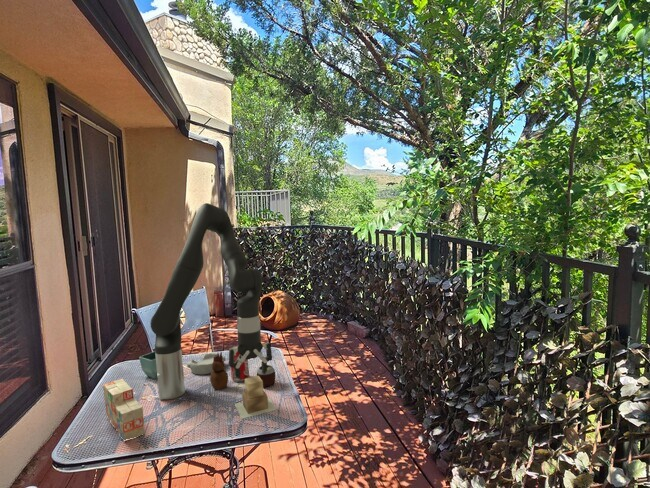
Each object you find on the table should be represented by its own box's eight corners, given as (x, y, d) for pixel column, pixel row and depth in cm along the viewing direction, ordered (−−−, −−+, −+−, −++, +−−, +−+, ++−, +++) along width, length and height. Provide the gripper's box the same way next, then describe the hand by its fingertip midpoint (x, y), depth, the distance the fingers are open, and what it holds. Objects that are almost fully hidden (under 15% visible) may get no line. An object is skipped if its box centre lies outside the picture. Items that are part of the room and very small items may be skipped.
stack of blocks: (145, 435, 128) (141, 397, 127) (124, 443, 124) (119, 404, 123) (125, 411, 144) (122, 377, 143) (106, 418, 140) (102, 383, 139)
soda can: (247, 382, 162) (244, 350, 161) (229, 383, 162) (226, 351, 161) (250, 375, 169) (248, 344, 168) (233, 375, 169) (231, 345, 168)
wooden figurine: (231, 388, 157) (228, 350, 156) (218, 394, 153) (215, 355, 152) (221, 384, 162) (218, 347, 161) (208, 389, 158) (205, 351, 156)
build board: (242, 421, 133) (241, 418, 132) (234, 407, 143) (234, 404, 142) (277, 412, 137) (277, 409, 137) (268, 398, 147) (267, 396, 147)
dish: (184, 374, 174) (183, 363, 173) (203, 362, 187) (202, 351, 186) (214, 377, 169) (213, 365, 169) (231, 364, 183) (230, 353, 182)
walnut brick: (247, 413, 135) (246, 400, 135) (243, 404, 142) (242, 392, 141) (268, 408, 138) (267, 395, 138) (262, 399, 144) (261, 387, 144)
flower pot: (171, 373, 175) (169, 353, 175) (153, 381, 168) (151, 360, 167) (158, 369, 180) (156, 350, 179) (140, 377, 173) (138, 357, 172)
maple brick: (249, 398, 136) (247, 384, 136) (245, 392, 141) (244, 378, 140) (263, 395, 138) (262, 381, 138) (259, 389, 143) (258, 375, 142)
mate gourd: (272, 392, 152) (270, 353, 151) (252, 391, 154) (250, 352, 153) (278, 383, 160) (276, 346, 158) (259, 382, 161) (256, 346, 160)
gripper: (229, 335, 130) (232, 384, 132) (272, 328, 136) (275, 375, 137) (225, 329, 137) (228, 375, 139) (266, 322, 143) (269, 367, 144)
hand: (251, 375), depth 138 cm, fingers open, 8 cm apart
